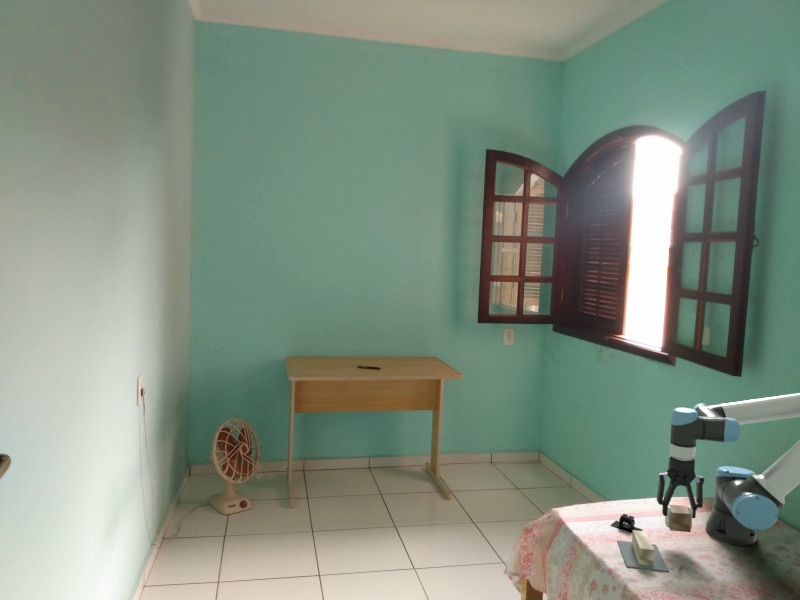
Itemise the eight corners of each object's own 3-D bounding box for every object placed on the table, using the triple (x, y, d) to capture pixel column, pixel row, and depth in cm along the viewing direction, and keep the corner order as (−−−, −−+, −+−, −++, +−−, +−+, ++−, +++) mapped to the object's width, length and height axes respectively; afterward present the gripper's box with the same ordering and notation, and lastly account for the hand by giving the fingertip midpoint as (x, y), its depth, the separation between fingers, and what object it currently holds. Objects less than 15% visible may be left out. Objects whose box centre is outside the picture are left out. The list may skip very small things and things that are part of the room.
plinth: (644, 546, 197) (645, 531, 196) (653, 565, 185) (654, 549, 184) (631, 544, 197) (632, 529, 197) (639, 564, 186) (640, 548, 185)
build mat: (656, 545, 198) (656, 544, 198) (668, 572, 182) (668, 570, 182) (617, 541, 200) (617, 540, 200) (626, 567, 184) (626, 565, 184)
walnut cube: (685, 523, 200) (686, 506, 199) (690, 532, 194) (691, 514, 193) (665, 522, 201) (666, 504, 200) (670, 530, 195) (671, 512, 194)
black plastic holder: (648, 532, 208) (649, 519, 208) (640, 539, 203) (641, 526, 203) (613, 519, 217) (614, 507, 216) (604, 526, 211) (605, 513, 211)
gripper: (710, 454, 197) (705, 523, 199) (648, 450, 200) (644, 518, 202) (718, 463, 189) (713, 534, 192) (653, 458, 193) (649, 528, 195)
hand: (678, 526), depth 197 cm, fingers closed on walnut cube, 6 cm apart
